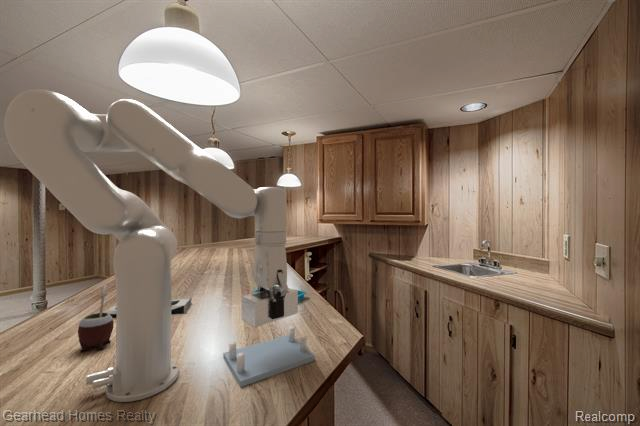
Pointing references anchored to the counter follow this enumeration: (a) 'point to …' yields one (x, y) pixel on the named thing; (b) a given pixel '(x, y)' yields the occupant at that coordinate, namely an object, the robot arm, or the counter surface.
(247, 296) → the block
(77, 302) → the counter surface
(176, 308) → the graphics card
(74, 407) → the counter surface
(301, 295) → the ice cube tray
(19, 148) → the robot arm
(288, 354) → the pin tray
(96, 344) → the mate gourd
